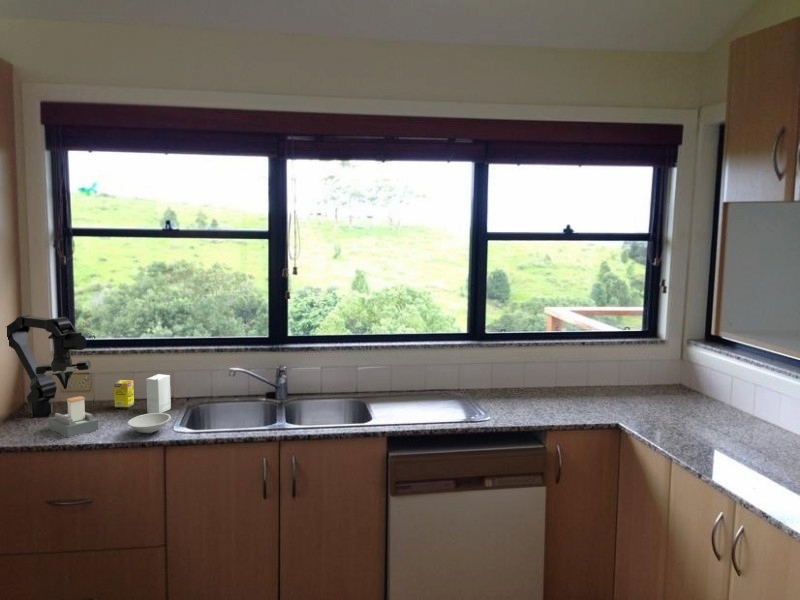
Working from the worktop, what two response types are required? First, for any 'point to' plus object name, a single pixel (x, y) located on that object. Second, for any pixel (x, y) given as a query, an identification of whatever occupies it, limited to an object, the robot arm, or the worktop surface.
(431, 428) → the worktop surface
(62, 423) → the grey holder base
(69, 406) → the handle
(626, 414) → the worktop surface
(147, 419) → the dish
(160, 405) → the skincare box
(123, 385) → the supplement box
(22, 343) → the robot arm
